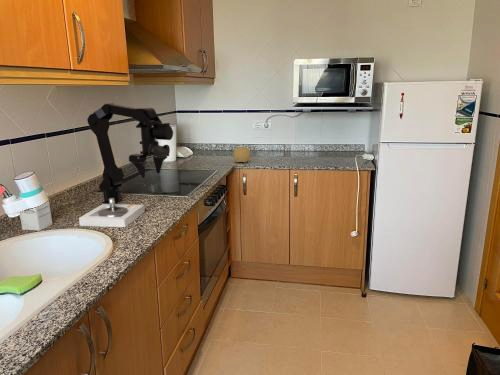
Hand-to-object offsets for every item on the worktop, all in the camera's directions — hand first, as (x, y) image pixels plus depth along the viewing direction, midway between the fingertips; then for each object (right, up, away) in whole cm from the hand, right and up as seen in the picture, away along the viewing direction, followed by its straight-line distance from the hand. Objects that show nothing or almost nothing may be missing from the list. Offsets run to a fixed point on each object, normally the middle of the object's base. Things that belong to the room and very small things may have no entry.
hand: (151, 175), depth 161 cm
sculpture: (+37, +12, +98) cm, 105 cm away
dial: (-12, -16, -12) cm, 23 cm away
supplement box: (-37, -20, -20) cm, 47 cm away
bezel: (-11, -17, -12) cm, 24 cm away
